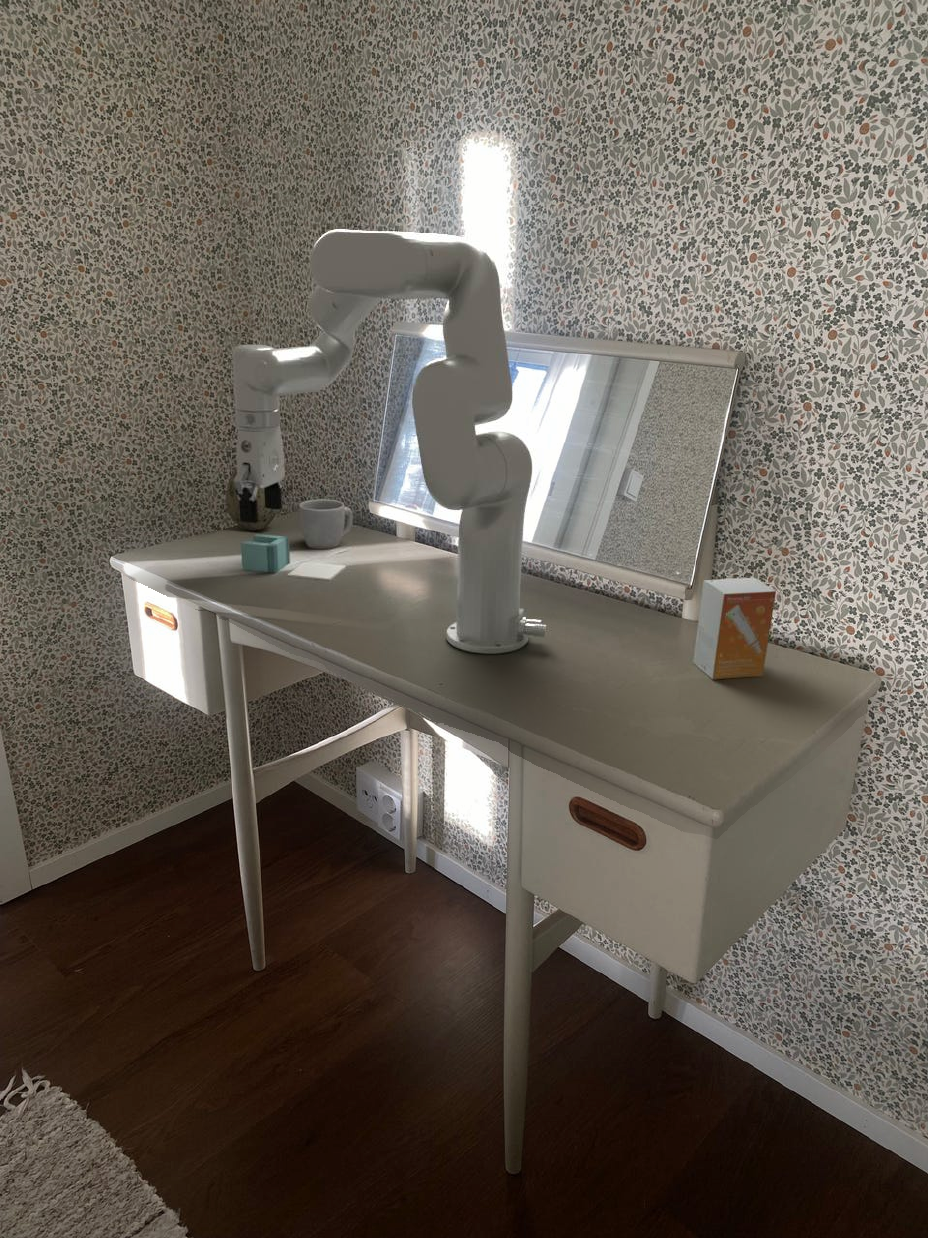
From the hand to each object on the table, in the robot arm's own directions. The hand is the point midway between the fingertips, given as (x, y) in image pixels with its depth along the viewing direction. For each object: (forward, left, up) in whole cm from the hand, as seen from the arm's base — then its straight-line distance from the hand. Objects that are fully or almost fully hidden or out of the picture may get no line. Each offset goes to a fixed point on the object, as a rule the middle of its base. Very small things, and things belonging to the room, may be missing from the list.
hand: (261, 515), depth 167 cm
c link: (0, 0, -10) cm, 10 cm away
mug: (-5, -18, -11) cm, 22 cm away
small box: (-82, +20, -11) cm, 86 cm away
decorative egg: (+16, -27, -11) cm, 33 cm away
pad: (-10, 0, -10) cm, 14 cm away
